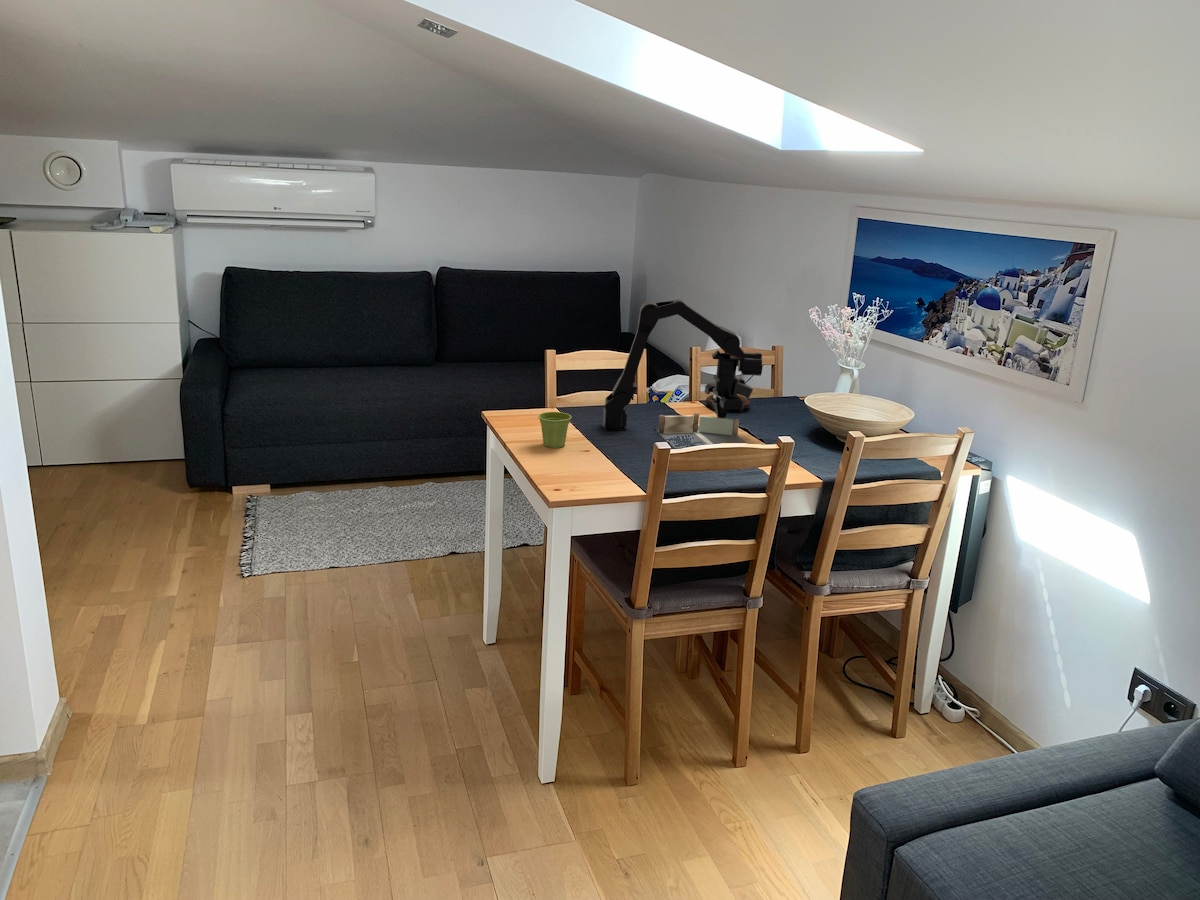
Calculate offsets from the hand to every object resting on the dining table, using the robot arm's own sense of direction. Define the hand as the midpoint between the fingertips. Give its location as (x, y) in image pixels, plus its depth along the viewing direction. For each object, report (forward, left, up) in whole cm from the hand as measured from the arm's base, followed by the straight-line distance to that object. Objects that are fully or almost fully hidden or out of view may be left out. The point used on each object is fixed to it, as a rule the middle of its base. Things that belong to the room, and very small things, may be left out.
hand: (720, 423), depth 283 cm
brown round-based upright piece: (+14, +29, -4) cm, 32 cm away
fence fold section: (-1, -2, -3) cm, 3 cm away
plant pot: (-54, -6, -3) cm, 54 cm away
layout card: (-8, -3, -3) cm, 9 cm away
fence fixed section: (-13, +2, -3) cm, 14 cm away
